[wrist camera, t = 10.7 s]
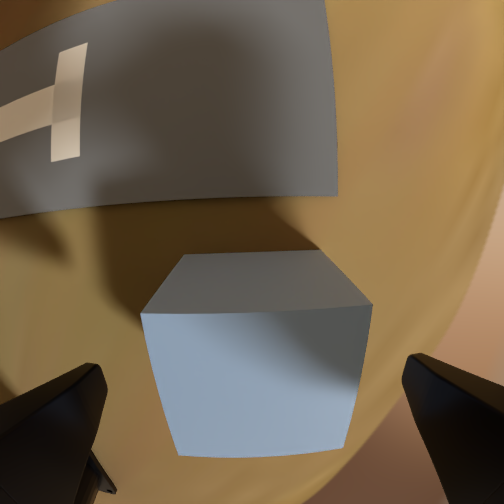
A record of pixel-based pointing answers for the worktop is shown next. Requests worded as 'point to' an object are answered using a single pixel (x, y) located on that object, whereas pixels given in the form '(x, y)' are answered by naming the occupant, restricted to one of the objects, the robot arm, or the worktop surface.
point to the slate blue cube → (257, 352)
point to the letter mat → (169, 105)
